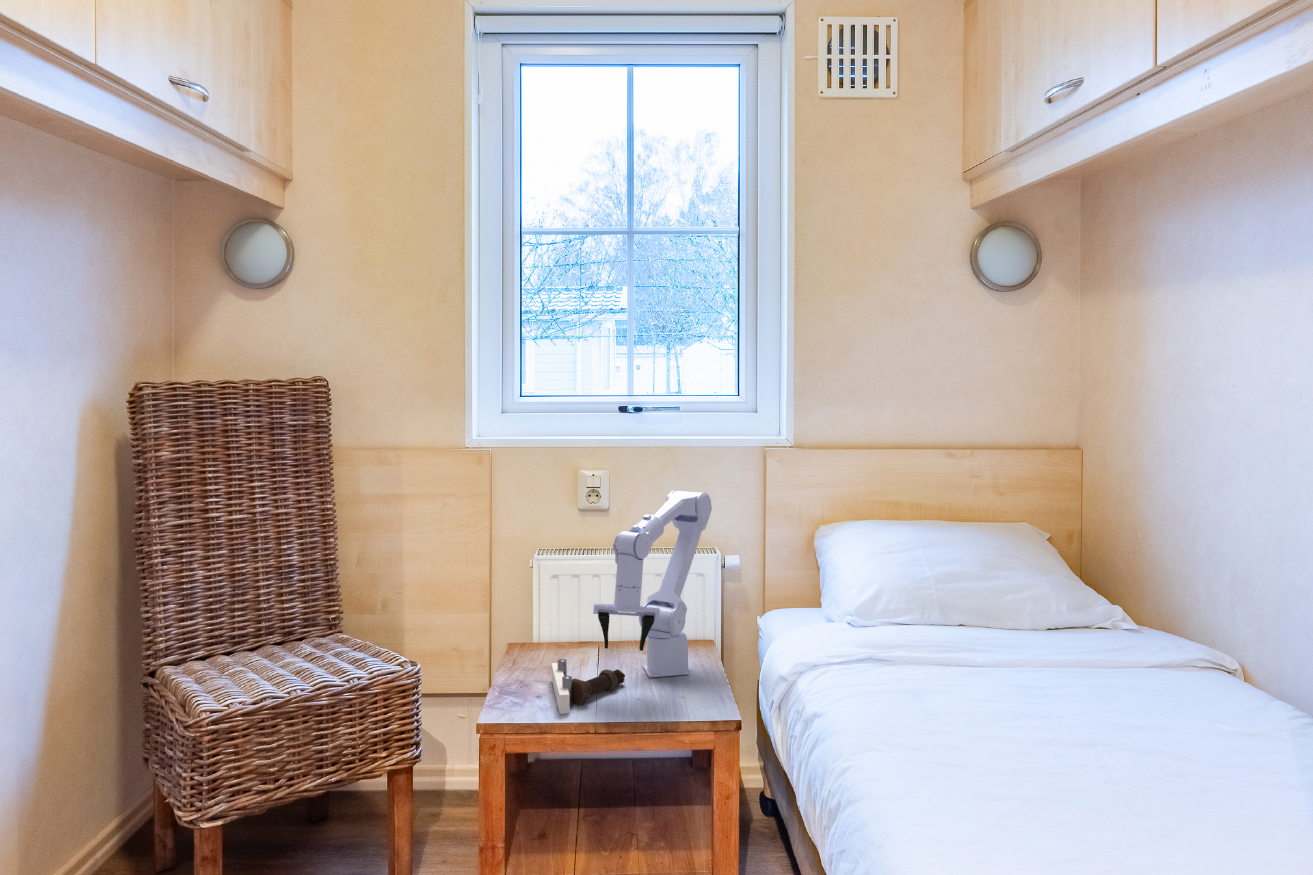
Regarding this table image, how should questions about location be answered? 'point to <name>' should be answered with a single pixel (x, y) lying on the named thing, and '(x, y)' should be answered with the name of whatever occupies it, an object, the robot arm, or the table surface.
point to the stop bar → (562, 686)
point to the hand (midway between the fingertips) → (623, 648)
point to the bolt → (595, 685)
